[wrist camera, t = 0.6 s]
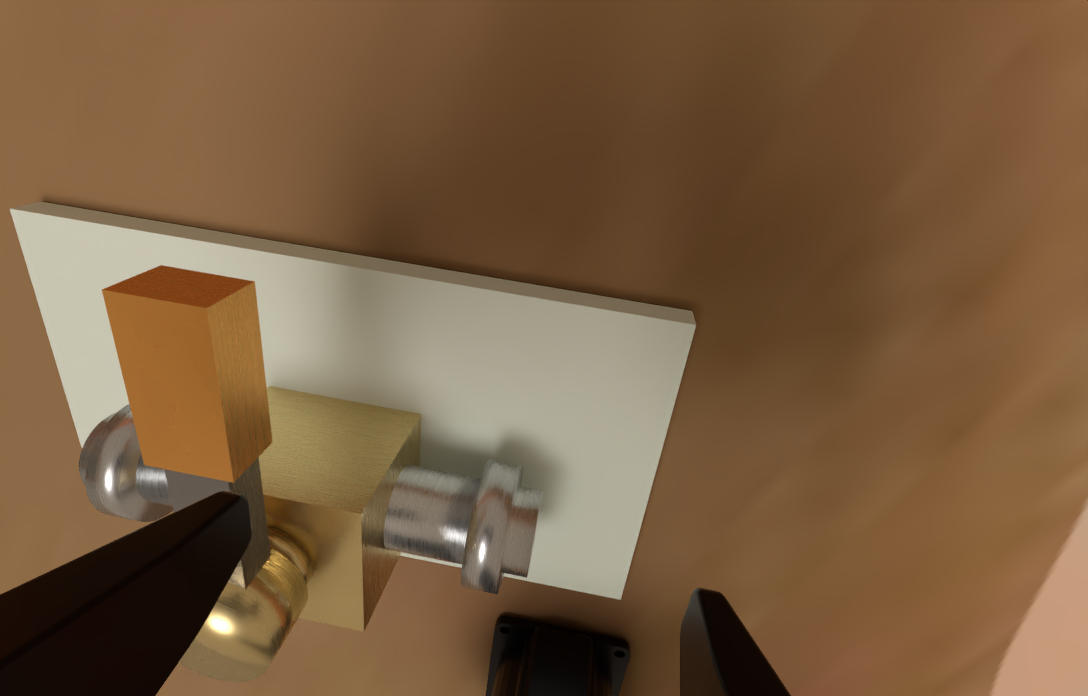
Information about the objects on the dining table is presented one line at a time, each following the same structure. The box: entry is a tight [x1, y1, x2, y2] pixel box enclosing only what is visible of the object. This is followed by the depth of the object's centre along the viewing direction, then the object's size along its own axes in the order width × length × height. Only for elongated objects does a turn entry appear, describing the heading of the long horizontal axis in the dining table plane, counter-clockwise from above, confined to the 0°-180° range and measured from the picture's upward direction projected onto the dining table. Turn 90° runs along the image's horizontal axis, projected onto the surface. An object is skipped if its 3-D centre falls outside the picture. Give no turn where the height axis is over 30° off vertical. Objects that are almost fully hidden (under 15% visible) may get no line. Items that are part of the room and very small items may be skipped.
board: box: [10, 202, 696, 600], centre depth 22 cm, size 13×24×1 cm, turn 83°
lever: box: [102, 265, 308, 682], centre depth 14 cm, size 12×3×2 cm, turn 173°
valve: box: [79, 386, 543, 632], centre depth 20 cm, size 16×5×6 cm, turn 83°
